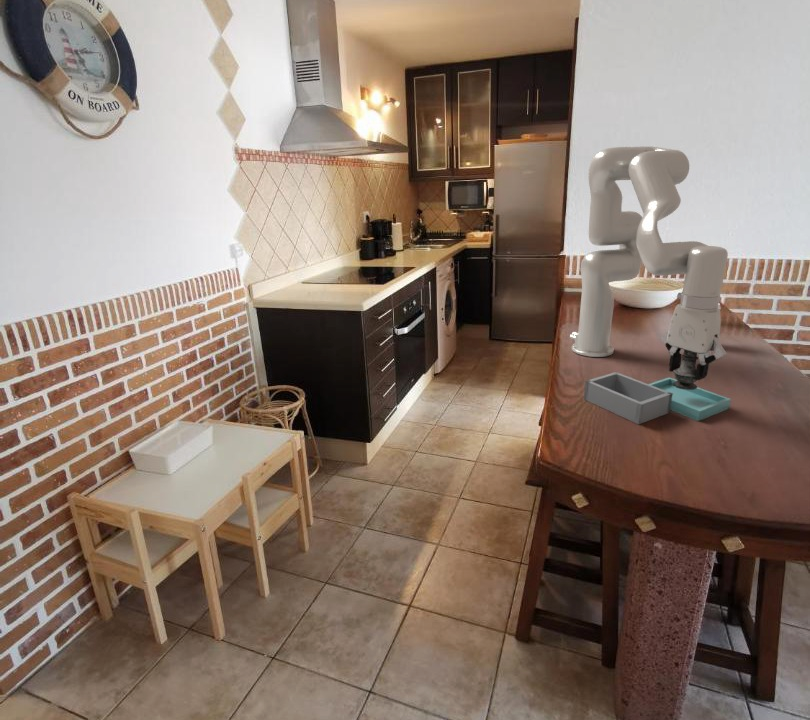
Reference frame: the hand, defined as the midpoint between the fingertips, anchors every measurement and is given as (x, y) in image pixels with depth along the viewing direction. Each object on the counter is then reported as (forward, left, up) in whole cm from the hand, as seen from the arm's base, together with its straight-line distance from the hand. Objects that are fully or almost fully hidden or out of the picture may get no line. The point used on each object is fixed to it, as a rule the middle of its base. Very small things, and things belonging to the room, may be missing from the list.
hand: (686, 373), depth 120 cm
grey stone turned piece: (0, 0, -3) cm, 3 cm away
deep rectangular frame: (-6, -13, -8) cm, 16 cm away
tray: (0, 0, -8) cm, 8 cm away
